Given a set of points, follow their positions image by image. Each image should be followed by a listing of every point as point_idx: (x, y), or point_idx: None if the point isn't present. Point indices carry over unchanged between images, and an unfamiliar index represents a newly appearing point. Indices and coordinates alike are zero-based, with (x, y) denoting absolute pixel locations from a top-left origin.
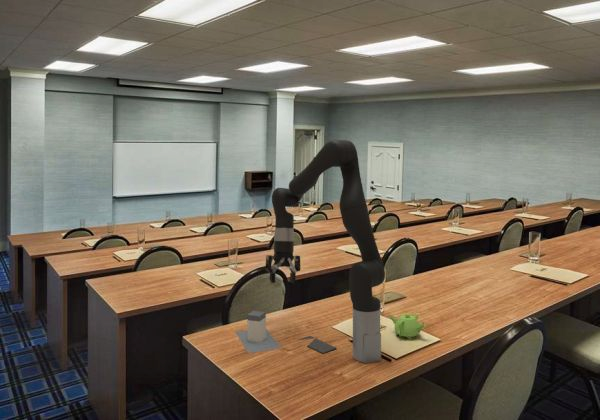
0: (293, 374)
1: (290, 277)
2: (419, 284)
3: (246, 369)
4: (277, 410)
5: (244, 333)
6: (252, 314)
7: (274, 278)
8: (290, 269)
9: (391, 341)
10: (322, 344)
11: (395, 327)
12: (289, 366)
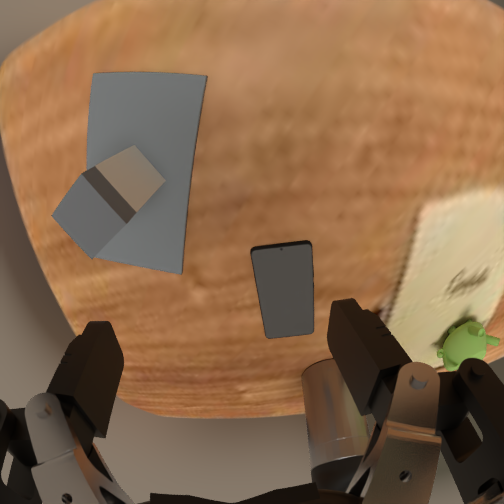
0: (166, 363)
1: (351, 337)
2: None
3: (87, 310)
4: (122, 398)
5: (113, 103)
6: (69, 223)
7: (107, 393)
8: (391, 417)
9: (420, 343)
10: (298, 307)
11: (453, 343)
12: (169, 343)
